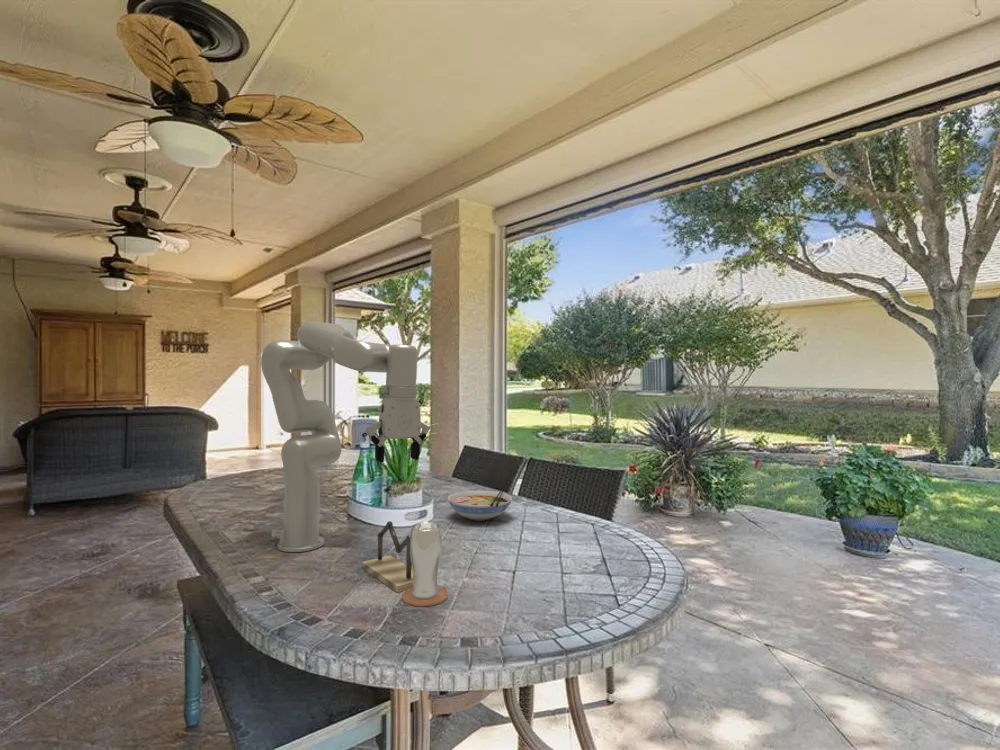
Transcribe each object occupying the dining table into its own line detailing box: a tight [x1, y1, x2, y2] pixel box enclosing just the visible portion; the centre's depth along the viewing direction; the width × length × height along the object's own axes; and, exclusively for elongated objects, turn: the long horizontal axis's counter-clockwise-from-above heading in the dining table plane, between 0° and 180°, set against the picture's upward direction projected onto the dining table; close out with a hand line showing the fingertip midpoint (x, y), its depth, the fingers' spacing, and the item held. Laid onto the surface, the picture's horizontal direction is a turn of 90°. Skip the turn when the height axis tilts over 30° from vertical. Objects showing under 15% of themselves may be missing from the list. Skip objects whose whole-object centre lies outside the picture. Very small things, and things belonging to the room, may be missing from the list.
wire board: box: [361, 555, 413, 593], centre depth 123 cm, size 19×8×2 cm, turn 40°
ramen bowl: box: [447, 489, 513, 522], centre depth 175 cm, size 25×23×8 cm
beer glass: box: [409, 521, 442, 599], centre depth 111 cm, size 7×7×15 cm
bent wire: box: [376, 521, 412, 578], centre depth 123 cm, size 16×2×11 cm, turn 40°
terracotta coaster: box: [401, 585, 449, 608], centre depth 111 cm, size 10×10×1 cm
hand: (397, 460), depth 127 cm, fingers open, 9 cm apart
